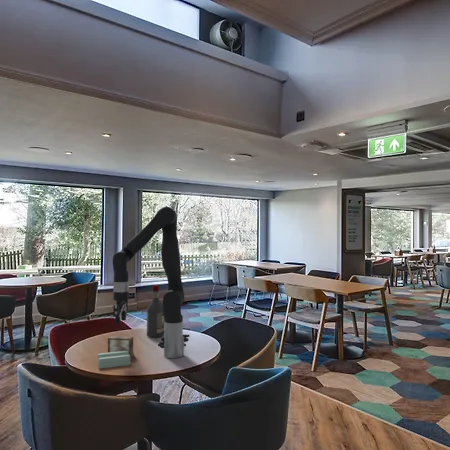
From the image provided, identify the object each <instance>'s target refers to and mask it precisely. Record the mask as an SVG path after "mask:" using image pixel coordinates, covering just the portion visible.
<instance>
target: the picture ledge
mask: <svg viewBox="0 0 450 450" xmlns="http://www.w3.org/2000/svg"><path fill="white" fill-rule="evenodd" d="M97 357H98V358H97V363H98V369H99V370H101V369H107V368H108V369H109V368H116V367H123V366H124V367H125V366H130V365H131V357H130V355H129V351H118V352H109V353H108V352H101V353H98V354H97Z"/></svg>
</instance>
